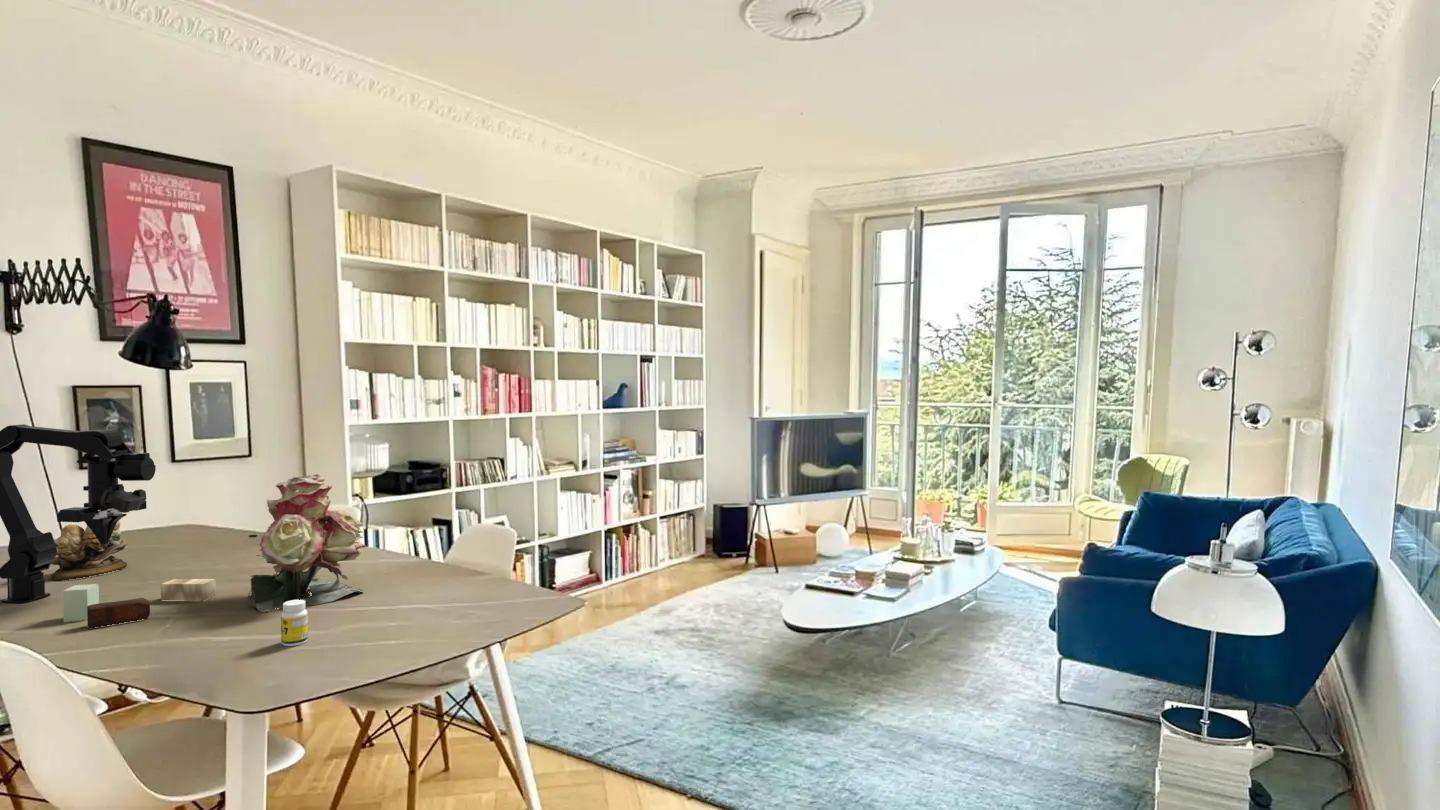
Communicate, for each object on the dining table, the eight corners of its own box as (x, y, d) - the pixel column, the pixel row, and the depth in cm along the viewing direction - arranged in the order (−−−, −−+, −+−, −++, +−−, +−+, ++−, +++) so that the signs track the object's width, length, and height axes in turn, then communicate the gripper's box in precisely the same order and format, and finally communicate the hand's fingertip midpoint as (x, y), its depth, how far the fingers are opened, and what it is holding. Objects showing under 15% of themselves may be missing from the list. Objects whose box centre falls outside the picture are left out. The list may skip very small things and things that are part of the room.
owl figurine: (112, 563, 214) (111, 504, 214) (141, 567, 211) (140, 507, 210) (38, 578, 197) (38, 515, 197) (68, 583, 193) (68, 518, 193)
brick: (87, 630, 158) (87, 609, 158) (87, 626, 161) (86, 604, 161) (150, 620, 165) (150, 599, 165) (148, 616, 168) (148, 595, 168)
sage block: (63, 622, 163) (63, 590, 163) (75, 615, 168) (74, 585, 167) (87, 620, 165) (87, 589, 164) (99, 614, 169) (98, 583, 169)
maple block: (160, 584, 178) (203, 584, 179) (174, 579, 183) (215, 578, 183) (161, 602, 178) (203, 602, 179) (174, 597, 183) (215, 596, 183)
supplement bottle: (278, 642, 152) (278, 602, 152) (303, 636, 156) (303, 597, 155) (285, 648, 149) (284, 607, 148) (310, 642, 152) (310, 602, 152)
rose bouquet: (259, 619, 167) (257, 487, 165) (241, 589, 189) (239, 473, 188) (380, 598, 183) (379, 477, 182) (350, 573, 205) (349, 466, 204)
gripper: (98, 487, 171) (99, 554, 171) (165, 476, 189) (166, 537, 190) (54, 486, 172) (55, 553, 172) (125, 475, 190) (126, 535, 191)
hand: (104, 544), depth 181 cm, fingers closed
